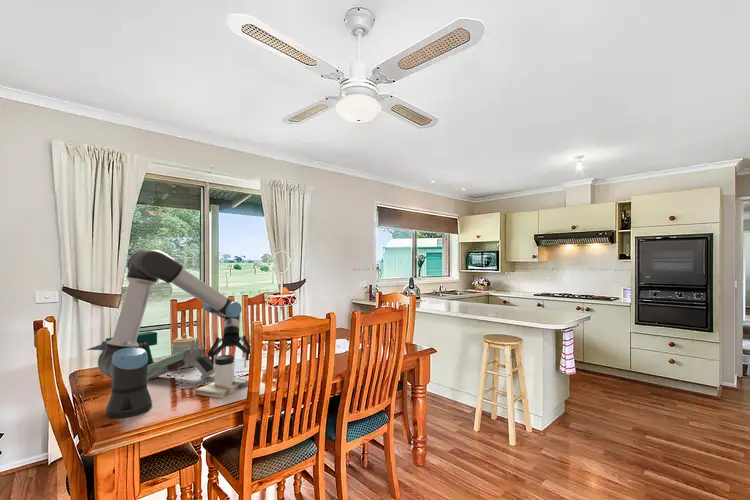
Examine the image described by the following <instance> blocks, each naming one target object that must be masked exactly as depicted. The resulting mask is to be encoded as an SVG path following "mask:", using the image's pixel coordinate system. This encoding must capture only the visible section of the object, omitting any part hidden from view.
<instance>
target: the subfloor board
mask: <svg viewBox="0 0 750 500" xmlns="http://www.w3.org/2000/svg"><path fill="white" fill-rule="evenodd" d="M248 379H249V378H245V377H237V376H236V377H235V376H234V382H233V383H232V384H230V385H225V386H218V385H214V381H212V382H210V383H208V384H205V385H204V386H201V387H198V388H195V391H194V394H195V395H197V396H205V397H211V398H218V399H222V398H224V397H226V396H229V395H230V394H232V393H234V392H236V391H238V390H240V389H243V388H244V387H247V386H248Z"/></svg>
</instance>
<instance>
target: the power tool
mask: <svg viewBox="0 0 750 500" xmlns="http://www.w3.org/2000/svg"><path fill="white" fill-rule="evenodd" d="M111 339H113V336H112V337H106V338H105V340H103V341H102V342H101V344H98V345H95V346H93V347H89V348H88V349H87V348H86V351H88V350H89V351H101V352H103V351H104V350H105V348H106V344H107V342H108V341H110V340H111ZM136 341H137V343H138V344H139V348H142V349H144V350H146V352H147V356H148V362H147V366H148V365H150V364H153V363H155V362H156V361H154V360H153V356H152V351H151V349H150V347H152V346H156V345H158V332H156V331H153V330H152V331H150V330H149V331H144V332H139V333H138V336H137V340H136Z"/></svg>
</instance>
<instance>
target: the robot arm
mask: <svg viewBox="0 0 750 500" xmlns="http://www.w3.org/2000/svg"><path fill="white" fill-rule="evenodd" d="M126 267H127V275H126V280H127V281H128V286H127V289H126V293H125V295H124V299H123V302H122V305H121V310H120V312H119V316H118V319H117V323H116V326H115V330H114V333H113V335H112V337H113V339H111V340H110V341H108V342H107V344H106V348H105V350H104V351H101V353H100V354H99V357H98V358H97V366H98V369H99V370H100V372H101V373H102V374H104V375H106V376H107V377H109V378H111V394H110V397H109V400H108V403H107V406H106V408H105V416H106V417H108V418H110V419H121V418H123V419H124V418H130V417H134V416H137V415H140V414H143V413H145V412H147V411H149V410H151V409H152V407H153V401H152V397H151V395H150V392H149V389H148V378H147V362H148V356H147V352H146V350H144V349H142V348H139V344H138V343H137V341H136V340H137V336H138V333H140V329H141V325H142V322H143V319H144V318H143V317H144V314H145V311H146V307H147V303H148V300H149V297H150V294H151V290H152V287H153V286H154V285H156V284H157V283H158V279H159V280H161V281H163V282H165V283H166V284H173V285H174V286H175V287H178V288H179V289H181V290H183V291H184V292H185V293H187V294H189V295H191V296H192V297H194V298H195V299H197V300H199V301H201V302H202V303H203V306H202V308H203V311H205V312H207V313H210V314H212V315H215V316H218V317H219V318H222V319H223V334H222V335H223V336H222V338H219V337H218V336H217V337H216V338H215V341H214V342H213V345H211V348H210V349H209V350H208V352H207V357H208V358H210V359H211V363H213V371H214V365H215V358H216V357H217V356H218V355H219V353H220V352H222V350H223V349H225V348H226V347H227V348H230V347H237V348H238V349H240V350H241V352H242V353H244V357H243V358H244V361H243V362H244V365H243V366H244V367H243V368H244V369H246V368H247V361H249V360H250V359H249V357H250V356H249V355H250V347H251V348H252V346H251V345H250V343H249V341H248V340H247V338H246V335H243V336H240V326H241V325H240V323H241V322H240V321H241V320H240V319H241V312H242V310H243V309H242V306H241V304H240V302H238V301H233V300H232V299H230V298H228V297H226V296H225V295H224V294H222V293H220V292H219V291H217V290H216V289H215V288H213V287H211V286H210V285H209V284H207V283H205V281H203V280H202V279H200V278H198V277H197V276H196V275H194V274H192V273H191V272H189V271H187V270H186V269H184V266H183V264H182V263H180V262H179V261H177V260H175V259H174V258H173V257H171V256H170V255H169V254H167V253H165V252H163V251H161V250H158V249H150V250H148V249H144V250H138V251H136V252H134V253H132V254H131V255H130V257H129V258H128V259H127V262H126ZM240 341H242V342H243V344H244V345H245V346H244V345H243V344H242V343H241V342H240ZM220 343H221V344H220ZM219 344H220V345H219ZM218 345H219V346H218Z"/></svg>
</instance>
